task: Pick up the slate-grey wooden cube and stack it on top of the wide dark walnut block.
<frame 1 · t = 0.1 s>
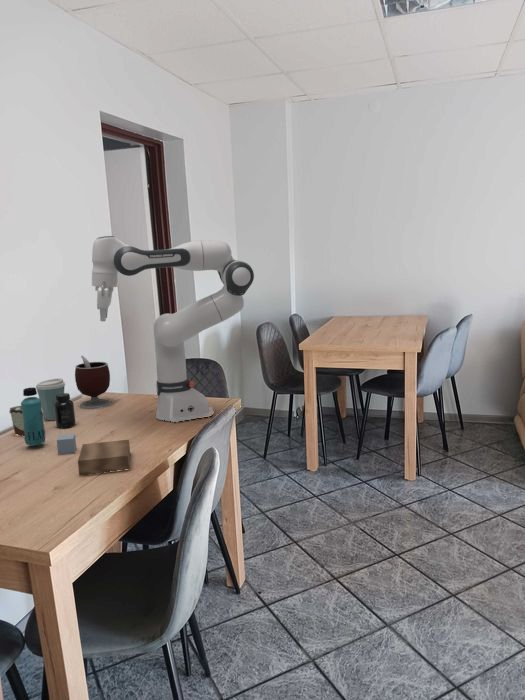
hand: (103, 319, 200), 39 cm above the table, tool pointing down, fingers open, 8 cm apart
walnut block: (106, 465, 166), on the table
supplement bottle: (66, 426, 204), on the table
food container: (31, 434, 196), on the table
beverage bottle: (36, 446, 183), on the table
disposable coffee cup: (54, 418, 214), on the table
slate cube: (67, 451, 178), on the table
mate gourd: (94, 404, 232), on the table
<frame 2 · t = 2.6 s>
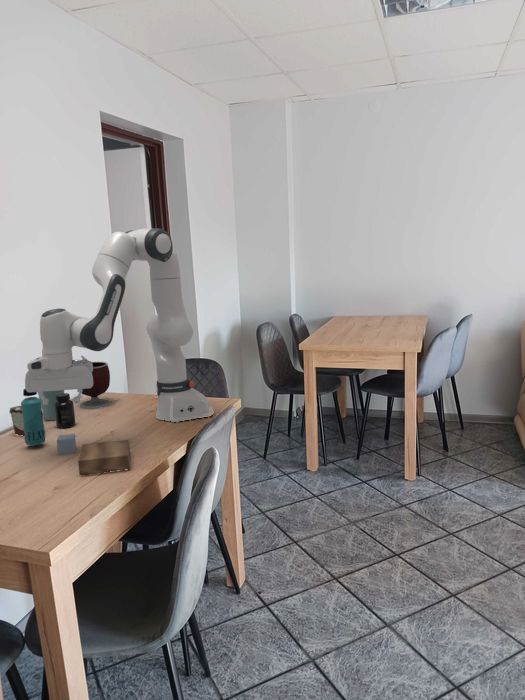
hand: (61, 403, 175), 16 cm above the table, tool pointing down, fingers open, 8 cm apart
nothing on the table moved.
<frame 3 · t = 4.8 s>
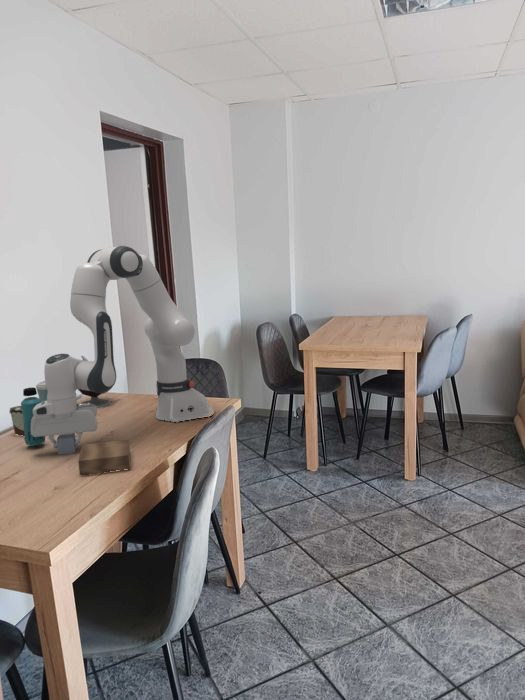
hand: (66, 446, 178), 2 cm above the table, tool pointing down, fingers closed on slate cube, 5 cm apart
slate cube: (67, 451, 178), on the table, touching gripper
everything else where it was.
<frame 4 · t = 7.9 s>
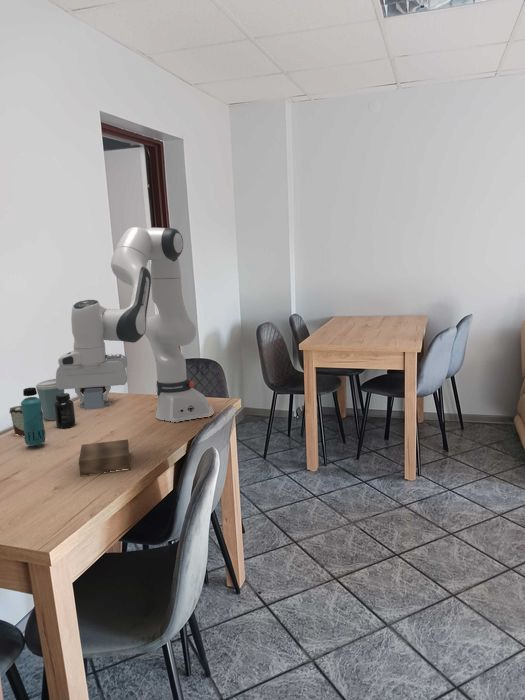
hand: (94, 401, 164), 19 cm above the table, tool pointing down, fingers closed on slate cube, 5 cm apart
slate cube: (94, 406, 164), point 18 cm above the table, touching gripper
everything else where it was.
when the fingers open (8 cm above the table, at t = 11.1 s): slate cube drops 2 cm, resting on walnut block.
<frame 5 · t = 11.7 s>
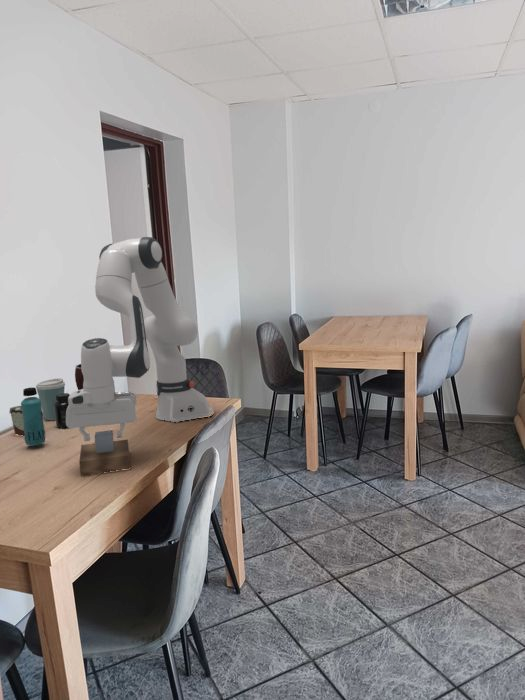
hand: (103, 438, 165), 8 cm above the table, tool pointing down, fingers open, 8 cm apart
walnut block: (106, 465, 166), on the table, touching slate cube
slate cube: (105, 449, 166), point 5 cm above the table, touching walnut block
everything else where it was.
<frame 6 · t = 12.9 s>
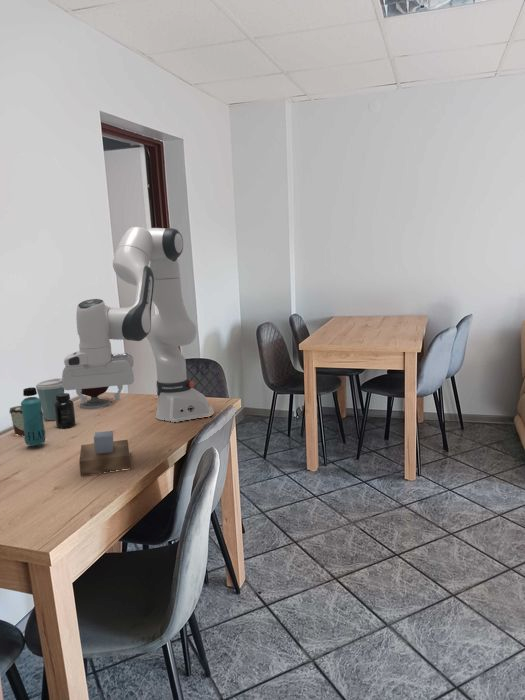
hand: (101, 401, 163), 20 cm above the table, tool pointing down, fingers open, 8 cm apart
walnut block: (106, 465, 166), on the table
slate cube: (104, 450, 165), point 5 cm above the table
everything else where it was.
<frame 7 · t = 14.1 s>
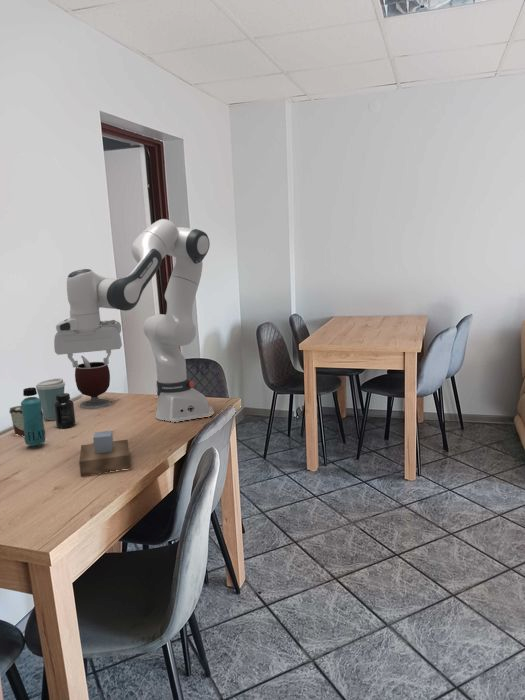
hand: (91, 365, 174), 28 cm above the table, tool pointing down, fingers open, 8 cm apart
nothing on the table moved.
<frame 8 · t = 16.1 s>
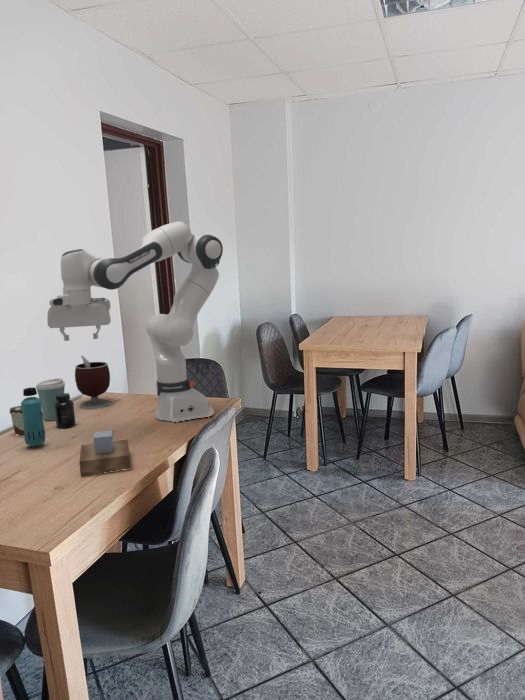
hand: (81, 339, 186), 34 cm above the table, tool pointing down, fingers open, 8 cm apart
nothing on the table moved.
at the end: slate cube inside the target area on the walnut block (0.1 cm from its centre), point 5.0 cm above the walnut block's base; slate cube tilted 0°; the gripper is holding nothing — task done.
